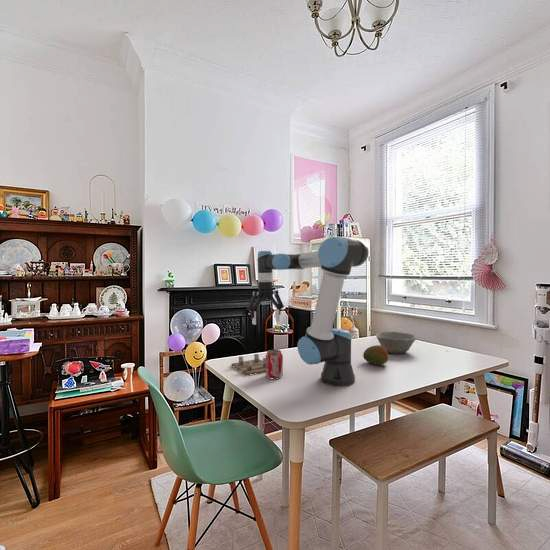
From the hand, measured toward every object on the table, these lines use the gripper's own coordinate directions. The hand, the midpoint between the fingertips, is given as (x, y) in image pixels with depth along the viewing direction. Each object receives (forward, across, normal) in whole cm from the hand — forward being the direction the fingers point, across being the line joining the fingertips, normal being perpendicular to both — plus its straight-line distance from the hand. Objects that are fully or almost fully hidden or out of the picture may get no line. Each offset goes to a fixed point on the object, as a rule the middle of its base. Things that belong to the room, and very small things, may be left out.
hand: (266, 323), depth 167 cm
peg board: (+22, +7, -2) cm, 23 cm away
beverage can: (+23, +4, +15) cm, 28 cm away
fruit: (+23, -51, +26) cm, 62 cm away
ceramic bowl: (+23, -80, +15) cm, 84 cm away
